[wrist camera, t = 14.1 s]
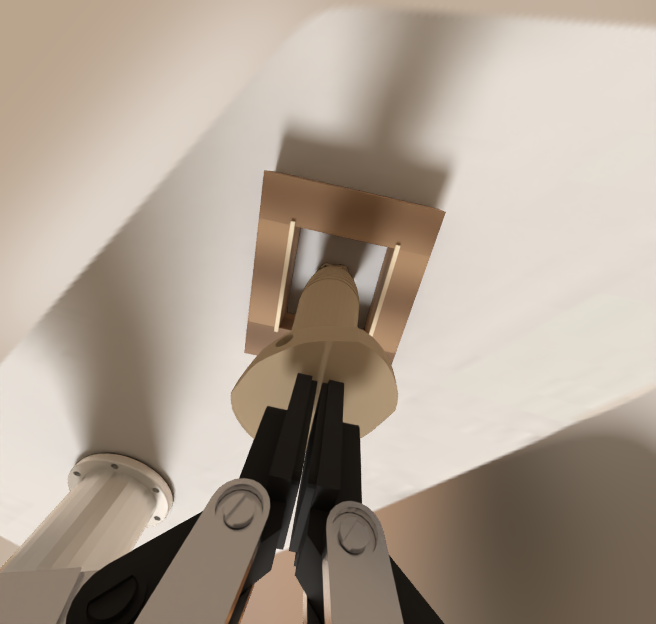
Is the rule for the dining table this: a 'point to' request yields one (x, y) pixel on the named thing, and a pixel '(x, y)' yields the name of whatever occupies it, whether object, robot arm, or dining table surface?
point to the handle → (321, 358)
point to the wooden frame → (346, 221)
